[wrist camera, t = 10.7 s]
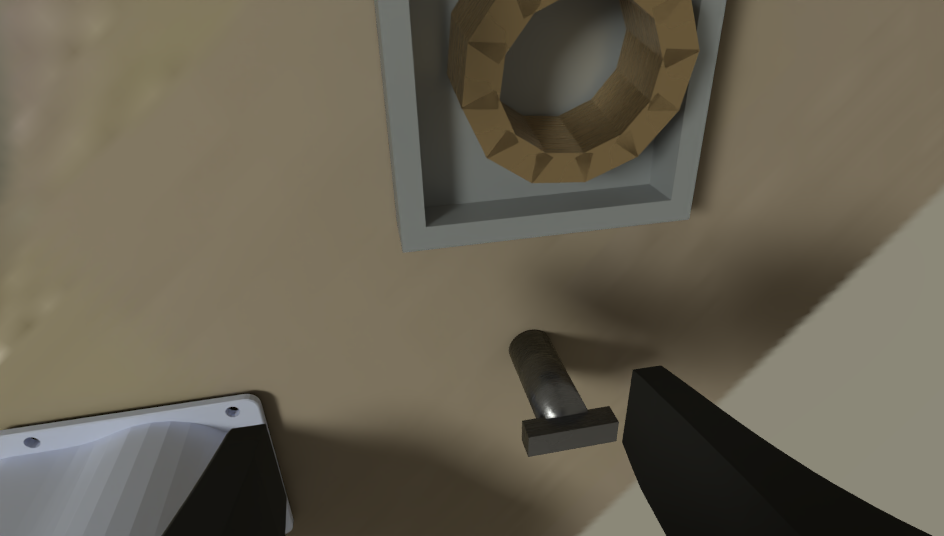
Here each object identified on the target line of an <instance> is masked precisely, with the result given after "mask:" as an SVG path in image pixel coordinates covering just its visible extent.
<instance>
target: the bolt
mask: <svg viewBox="0 0 944 536" xmlns="http://www.w3.org/2000/svg"><path fill="white" fill-rule="evenodd" d="M509 354H510V357H511V359H512V362H513V364H514V367H515V369H516V371H517V374H518V376H519V378H520V381H521V383H522V386H523V388H524V390H525V393H526V395H527V398H528V400H529V402H530V405H531V407H532V409H533V412H534V414H535V417H536V419H530V420H524V421H522V442H523V444H524V447H525V450H526V452H527V455H528V457H530V456H536V455H541V454H547V453H553V452H558V451H564V450H569V449H575V448H580V447H586V446H592V445H597V444H603V443H608V442H614V441H616V439H617V432H618V424H619V422H618V420H617V418H616V417H615V415H614V413H613V412H612V410H611V408H610V406H607V407H601V408H595V409H589V410H587V408H586V406H585V404H584V402H583V401H582V399H581V397H580V395H579V393H578V391H577V390H576V388H575V386H574V384H573V382H572V380H571V378H570V377H569V375H568V373H567V371H566V369H565V367H564V365H563V364H562V362H561V360H560V358H559V356H558V354H557V352H556V351H555V349H554V347H553V345H552V343H551V341H550V340H549V338H548V336H547V335H546V334H545V333H543V332H541V331H538V330H529V331H525V332H523V333H521V334H519V335H518V336H516V337H515V338H514V339H513V341H512V342H511V344H510V347H509Z"/></svg>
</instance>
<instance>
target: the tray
mask: <svg viewBox="0 0 944 536" xmlns="http://www.w3.org/2000/svg"><path fill="white" fill-rule="evenodd" d="M457 2H458V0H374V3H375V13H376V23H377V32H378V42H379V52H380V62H381V71H382V81H383V91H384V101H385V110H386V120H387V130H388V140H389V149H390V159H391V169H392V179H393V188H394V198H395V208H396V218H397V226H398V231H399V236H400V241H401V246H402V251H403V252H412V251H420V250H429V249H438V248H446V247H455V246H463V245H472V244H481V243H489V242H498V241H506V240H515V239H523V238H532V237H541V236H549V235H558V234H566V233H575V232H584V231H592V230H601V229H609V228H618V227H627V226H635V225H644V224H652V223H661V222H669V221H678V220H687V219H689V217H690V212H691V206H692V200H693V194H694V188H695V182H696V176H697V170H698V165H699V159H700V153H701V147H702V141H703V135H704V129H705V124H706V118H707V112H708V106H709V100H710V94H711V88H712V82H713V77H714V71H715V65H716V59H717V53H718V47H719V41H720V35H721V30H722V24H723V18H724V12H725V6H726V0H692V6H693V13H694V19H695V25H696V31H697V37H698V43H699V49H700V51H699V54H698V57H697V60H696V63H695V65H694V68H693V71H692V74H691V77H690V80H689V83H688V86H687V89H686V92H685V95H684V97H683V100H682V103H681V106H680V109H679V111H678V112H677V113H676V114H675V116H674V117H673V118H672V119H671V120H670V121H669V122H668V123H667V124H666V126H665V127H664V128H663V129H662V130H661V131H660V132H659V133H658V134H657V136H656V137H655V138H654V139H653V140H652V141H651V142H650V143H649V144H648V146H647V147H646V148H645V149H644V150H643V151H642V152H641V153H640V155H639V156H638V157H636V158H634V159H632V160H630V161H628V162H626V163H624V164H622V165H620V166H617V167H615V168H613V169H611V170H609V171H607V172H605V173H603V174H601V175H599V176H597V177H595V178H593V179H591V180H589V181H587V182H570V183H531V182H529V181H527V180H525V179H523V178H522V177H520V176H518V175H516V174H514V173H513V172H511V171H509V170H507V169H505V168H504V167H502V166H500V165H498V164H497V163H495V162H493V161H491V160H489V159H487V158H486V156H485V154H484V151H483V149H482V147H481V145H480V143H479V141H478V139H477V137H476V135H475V133H474V131H473V130H472V128H471V126H470V124H469V122H468V120H467V118H466V116H465V114H464V112H463V110H462V109H461V106H460V104H459V101H458V99H457V97H456V94H455V92H454V90H453V87H452V85H451V82H450V80H449V78H448V75H447V63H448V49H449V34H450V20H451V11H452V10H453V8H454V7H455V5H456V3H457ZM625 33H626V27H625V23H624V19H623V15H622V11H621V7H620V2H619V0H558V1H556V2H554V3H552V4H550V5H549V6H547V7H545V8H543V9H541V10H539V11H537V12H536V13H534V14H533V16H532V17H531V19H530V20H529V22H528V23H527V24H526V26H525V27H524V29H523V30H522V32H521V33H520V34H519V36H518V37H517V39H516V40H515V42H514V43H513V45H512V46H511V47H510V49H509V50H508V52H507V53H506V55H505V62H504V69H503V77H502V85H501V92H500V101H501V102H503V103H504V104H506V105H508V106H509V107H511V108H512V109H514V110H515V111H517V112H519V113H520V114H522V115H523V116H559V115H561V114H563V113H565V112H567V111H569V110H571V109H573V108H575V107H577V106H579V105H581V104H583V103H585V102H587V101H589V100H591V99H592V98H593V97H594V95H595V94H596V93H597V92H598V90H599V89H600V88H601V87H602V85H603V84H604V83H605V82H606V80H607V79H608V78H609V77H610V76H611V74H612V73H613V72H614V71H615V69H616V68H617V64H618V60H619V56H620V52H621V48H622V44H623V40H624V37H625Z"/></svg>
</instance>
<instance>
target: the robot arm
mask: <svg viewBox="0 0 944 536" xmlns="http://www.w3.org/2000/svg"><path fill="white" fill-rule="evenodd" d="M229 407H236V408H238V410H231V409H229ZM31 437H34V438H36V439H38V440H34V439H32V438H31ZM622 443H623V445H624V448H625V450H626V453H627V456H628V458H629V461H630V463H631V466H632V469H633V471H634V473H635V476H636V478H637V480H638V483H639V485H640V488H641V490H642V492H643V493H644V495H645V497H646V499H647V501H648V503H649V505H650V507H651V508H652V510H653V512H654V514H655V516H656V518H657V519H658V521H659V523H660V525H661V527H662V528H663V530H664V532H665V534H666V536H932V535H930V534H927V533H926V532H924V531H922V530H919V529H917V528H915V527H913V526H911V525H909V524H907V523H905V522H903V521H901V520H899V519H897V518H895V517H893V516H892V515H890V514H888V513H886V512H884V511H882V510H880V509H878V508H876V507H874V506H873V505H871V504H869V503H867V502H866V501H864V500H862V499H860V498H858V497H856V496H855V495H853V494H851V493H849V492H848V491H846V490H844V489H842V488H840V487H838V486H837V485H835V484H833V483H832V482H830V481H828V480H827V479H825V478H823V477H822V476H820V475H818V474H817V473H815V472H813V471H812V470H810V469H809V468H807V467H805V466H804V465H802V464H801V463H799V462H798V461H796V460H794V459H793V458H791V457H790V456H788V455H787V454H785V453H784V452H782V451H780V450H779V449H777V448H776V447H774V446H773V445H771V444H770V443H768V442H767V441H766V440H764V439H763V438H761V437H759V436H758V435H757V434H755V433H754V432H752V431H751V430H749V429H748V428H747V427H745V426H744V425H742V424H741V423H739V422H738V421H737V420H735V419H734V418H732V417H731V416H730V415H728V414H727V413H726V412H724V411H723V410H721V409H720V408H719V407H717V406H716V405H715V404H713V403H712V402H711V401H709V400H708V399H706V398H705V397H704V396H702V395H701V394H700V393H698V392H697V391H696V390H694V389H693V388H692V387H690V386H689V385H687V384H686V383H685V382H683V381H682V380H681V379H679V378H678V377H677V376H675V375H674V374H672V373H671V372H670V371H668V370H667V369H665V368H664V367H662V366H655V367H648V368H641V369H634V370H633V373H632V379H631V386H630V393H629V400H628V406H627V413H626V420H625V426H624V433H623V440H622ZM292 528H293V516H292V512H291V509H290V505H289V501H288V498H287V494H286V491H285V487H284V483H283V480H282V476H281V473H280V469H279V465H278V462H277V458H276V454H275V451H274V447H273V444H272V440H271V436H270V433H269V429H268V426H267V422H266V418H265V415H264V411H263V407H262V404H261V401H260V399H259V398H258V397H257V396H255V395H252V394H241V395H235V396H228V397H221V398H214V399H208V400H201V401H194V402H188V403H181V404H174V405H167V406H161V407H154V408H147V409H141V410H134V411H127V412H120V413H114V414H107V415H100V416H94V417H87V418H80V419H73V420H67V421H60V422H53V423H47V424H40V425H33V426H27V427H20V428H13V429H6V430H0V536H285V534H287V533H288V532H290V531H291V530H292Z"/></svg>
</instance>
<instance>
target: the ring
mask: <svg viewBox="0 0 944 536" xmlns="http://www.w3.org/2000/svg"><path fill="white" fill-rule="evenodd" d="M556 1H558V0H458V2H457V3H456V5H455V7H454V8H453V10H452V11H451V20H450V34H449V49H448V63H447V75H448V78H449V80H450V82H451V85H452V87H453V90H454V92H455V94H456V97H457V99H458V101H459V104H460V106H461V109H462V110H463V112H464V114H465V116H466V118H467V120H468V122H469V124H470V126H471V128H472V130H473V131H474V133H475V135H476V137H477V139H478V141H479V143H480V145H481V147H482V149H483V151H484V154H485V156H486V158H487V159H489V160H491V161H493V162H495V163H497V164H498V165H500V166H502V167H504V168H505V169H507V170H509V171H511V172H513V173H514V174H516V175H518V176H520V177H522V178H523V179H525V180H527V181H529V182H531V183H570V182H587V181H589V180H591V179H593V178H595V177H597V176H599V175H601V174H603V173H605V172H607V171H609V170H611V169H613V168H615V167H617V166H620V165H622V164H624V163H626V162H628V161H630V160H632V159H634V158H636V157H638V156H639V155H640V153H641V152H642V151H643V150H644V149H645V148H646V147H647V146H648V144H649V143H650V142H651V141H652V140H653V139H654V138H655V137H656V136H657V134H658V133H659V132H660V131H661V130H662V129H663V128H664V127H665V126H666V124H667V123H668V122H669V121H670V120H671V119H672V118H673V117H674V116H675V114H676V113H677V112H678V111H679V109H680V106H681V103H682V100H683V97H684V95H685V92H686V89H687V86H688V83H689V80H690V77H691V74H692V71H693V68H694V65H695V63H696V60H697V57H698V54H699V51H700V49H699V43H698V37H697V31H696V25H695V19H694V13H693V6H692V0H619V2H620V7H621V11H622V15H623V19H624V23H625V27H626V33H625V37H624V40H623V44H622V48H621V52H620V56H619V60H618V64H617V68H616V69H615V71H614V72H613V73H612V74H611V76H610V77H609V78H608V79H607V80H606V82H605V83H604V84H603V85H602V87H601V88H600V89H599V90H598V92H597V93H596V94H595V95H594V97H593V98H592V99H591V100H589V101H587V102H585V103H583V104H581V105H579V106H577V107H575V108H573V109H571V110H569V111H567V112H565V113H563V114H561V115H559V116H523V115H522V114H520V113H519V112H517V111H515V110H514V109H512V108H511V107H509V106H508V105H506V104H504V103H503V102H501V101H500V92H501V85H502V77H503V69H504V62H505V55H506V53H507V52H508V50H509V49H510V47H511V46H512V45H513V43H514V42H515V40H516V39H517V37H518V36H519V34H520V33H521V32H522V30H523V29H524V27H525V26H526V24H527V23H528V22H529V20H530V19H531V17H532V16H533V14H534V13H536V12H537V11H539V10H541V9H543V8H545V7H547V6H549V5H550V4H552V3H554V2H556Z"/></svg>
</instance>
